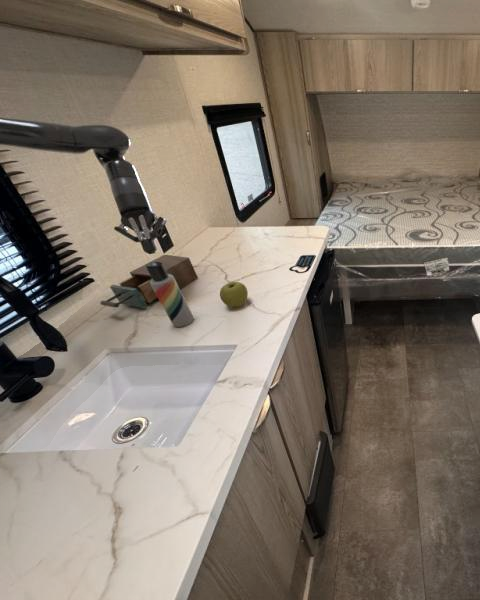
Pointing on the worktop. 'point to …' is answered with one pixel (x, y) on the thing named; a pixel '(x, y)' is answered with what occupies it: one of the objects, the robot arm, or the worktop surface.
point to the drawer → (132, 292)
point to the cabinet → (172, 269)
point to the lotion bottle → (169, 295)
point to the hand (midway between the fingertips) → (151, 253)
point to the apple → (234, 294)
